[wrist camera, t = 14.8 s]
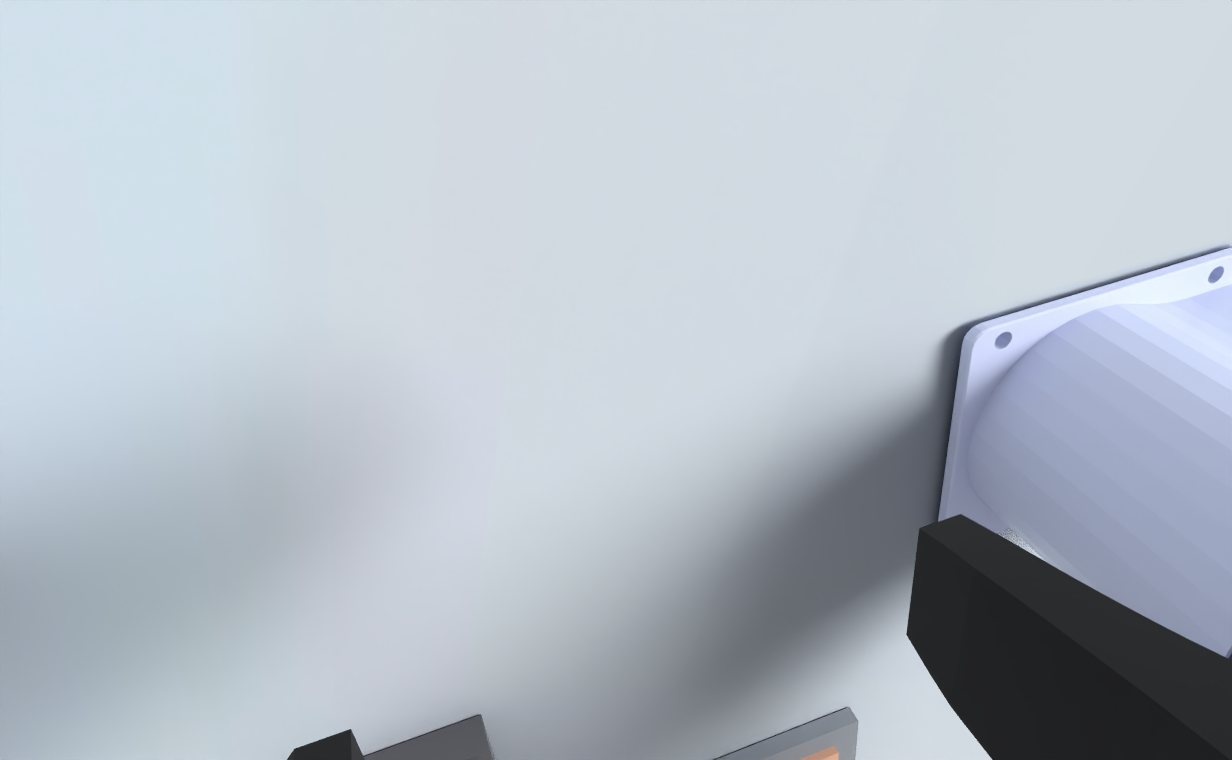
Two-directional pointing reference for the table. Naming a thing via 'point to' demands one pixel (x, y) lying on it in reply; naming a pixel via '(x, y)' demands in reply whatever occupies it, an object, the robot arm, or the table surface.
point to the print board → (808, 741)
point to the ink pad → (443, 744)
